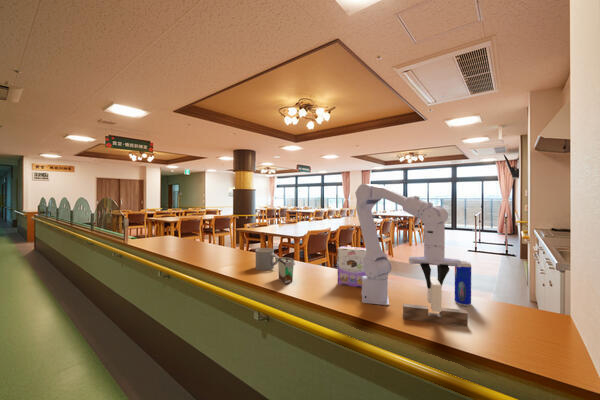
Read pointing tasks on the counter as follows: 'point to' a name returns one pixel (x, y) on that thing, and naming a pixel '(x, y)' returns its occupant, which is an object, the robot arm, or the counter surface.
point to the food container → (285, 269)
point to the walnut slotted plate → (435, 315)
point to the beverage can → (463, 284)
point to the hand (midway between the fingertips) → (434, 287)
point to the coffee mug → (265, 259)
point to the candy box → (351, 265)
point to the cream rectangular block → (435, 294)
